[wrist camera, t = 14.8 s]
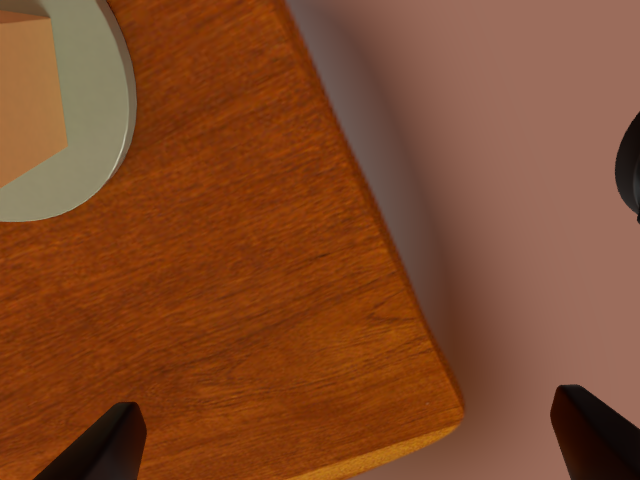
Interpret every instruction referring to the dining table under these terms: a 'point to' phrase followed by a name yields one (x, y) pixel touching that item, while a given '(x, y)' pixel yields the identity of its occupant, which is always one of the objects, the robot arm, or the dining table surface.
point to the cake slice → (28, 95)
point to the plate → (79, 110)
